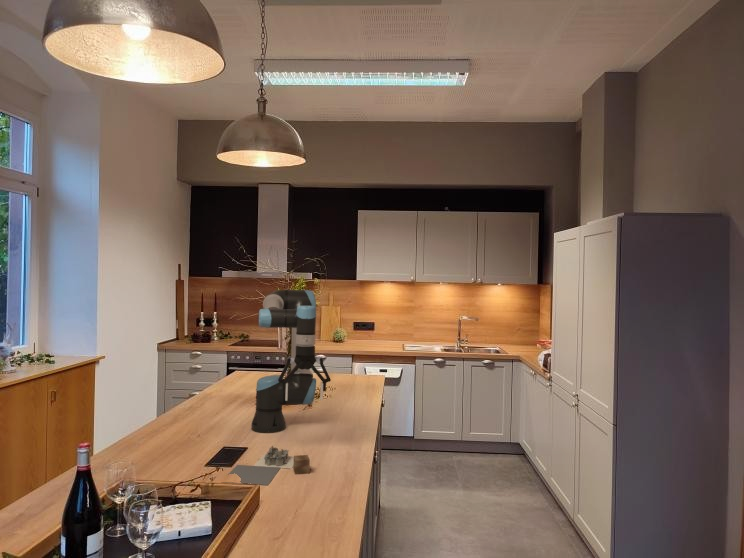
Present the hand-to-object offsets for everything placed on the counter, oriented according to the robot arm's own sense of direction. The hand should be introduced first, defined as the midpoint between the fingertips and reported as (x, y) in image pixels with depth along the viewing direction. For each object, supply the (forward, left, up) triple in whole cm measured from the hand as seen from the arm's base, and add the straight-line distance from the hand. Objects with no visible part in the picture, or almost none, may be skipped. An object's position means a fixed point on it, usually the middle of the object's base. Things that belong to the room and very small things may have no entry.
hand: (304, 399), depth 206 cm
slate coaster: (-12, -25, -21) cm, 35 cm away
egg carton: (-7, -11, -21) cm, 25 cm away
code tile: (-7, -11, -21) cm, 25 cm away
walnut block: (+4, -19, -21) cm, 28 cm away
